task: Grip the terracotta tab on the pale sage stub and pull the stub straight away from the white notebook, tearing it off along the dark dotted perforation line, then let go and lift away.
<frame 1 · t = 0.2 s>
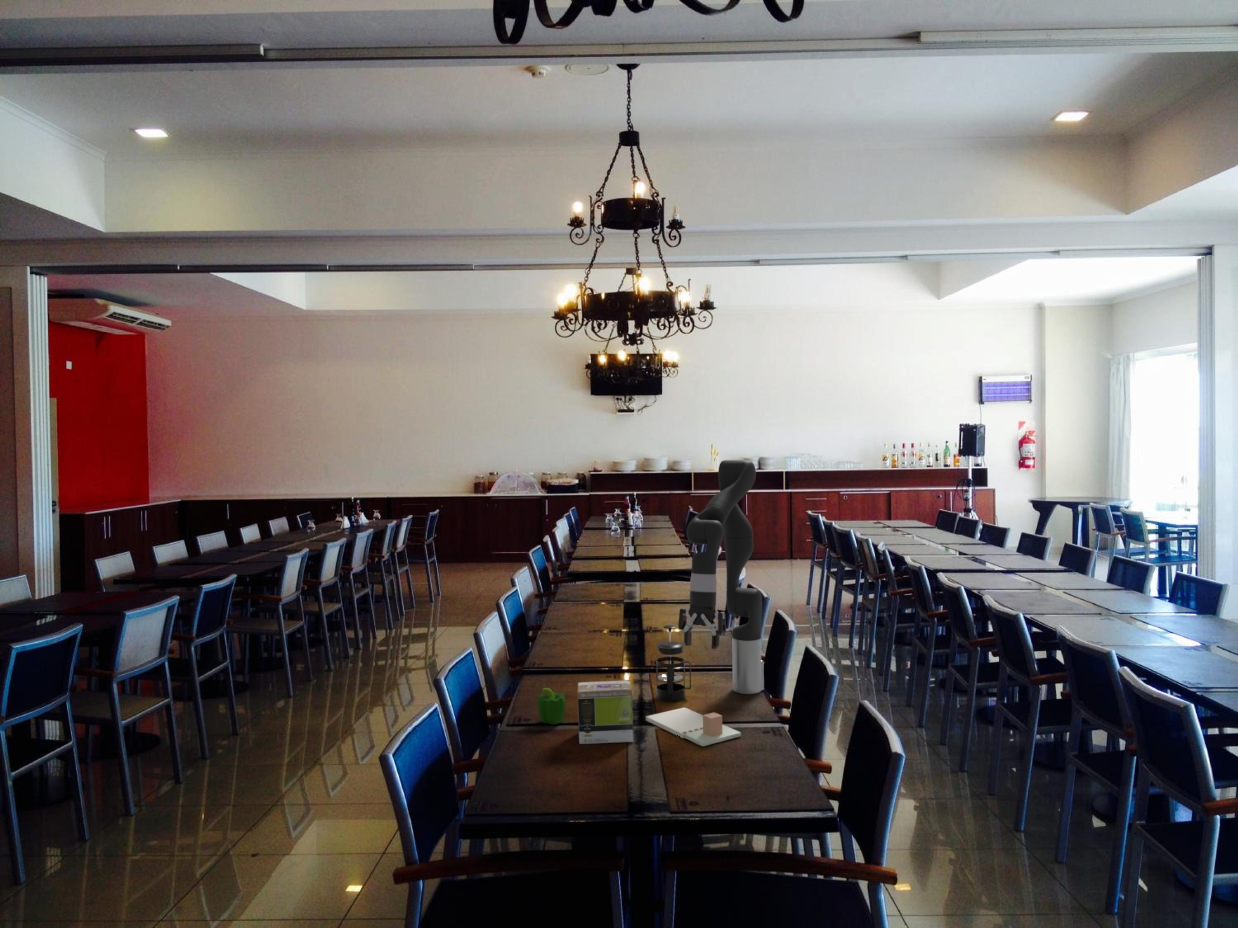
hand: (701, 647, 246), 23 cm above the table, tool pointing down, fingers open, 8 cm apart
bell pepper: (552, 722, 254), on the table
tea box: (605, 738, 240), on the table
stub: (712, 726, 238), point 3 cm above the table, slide at 0.0 cm
french press: (672, 698, 275), on the table
white notebook: (683, 724, 250), on the table
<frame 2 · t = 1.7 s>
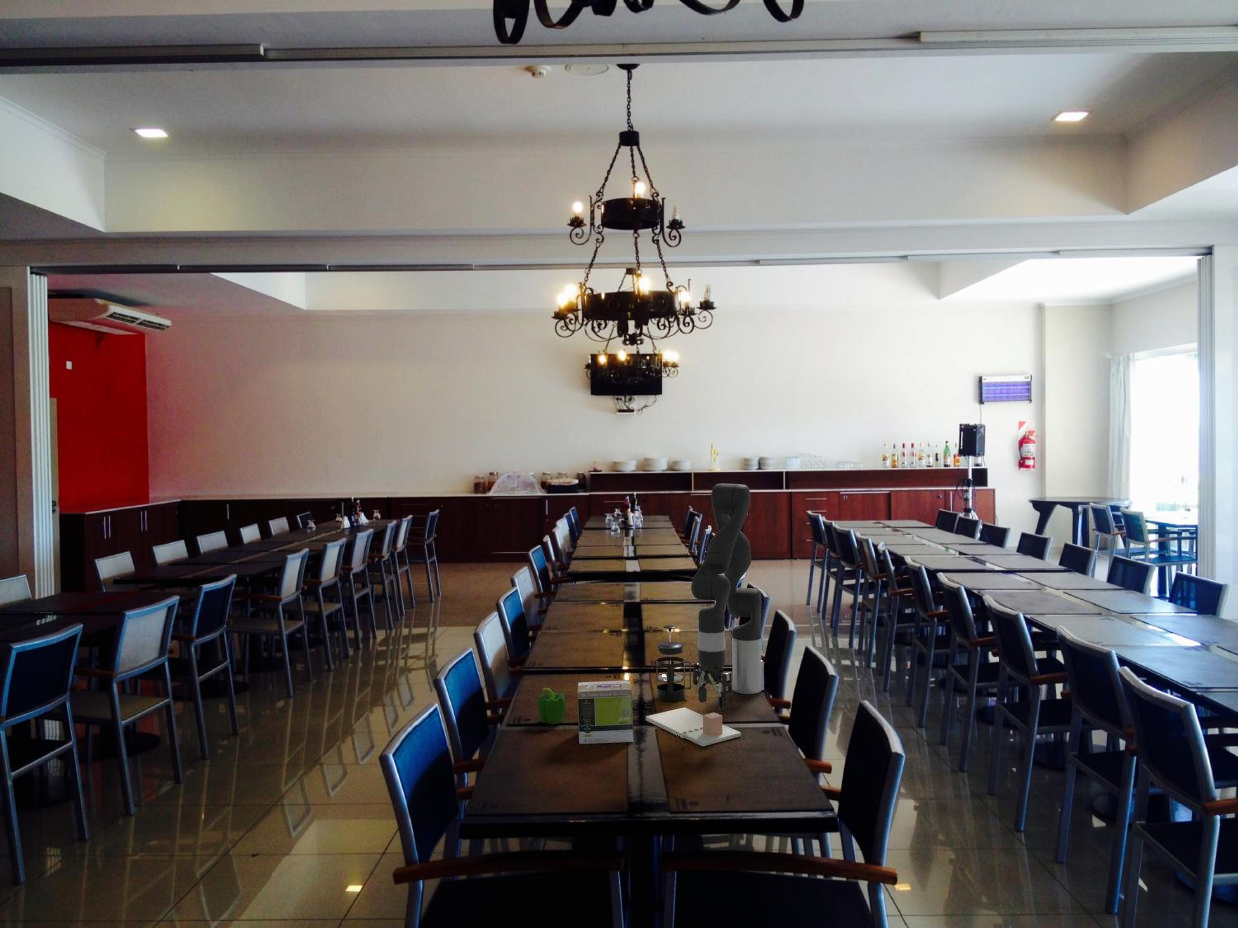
hand: (712, 705, 238), 9 cm above the table, tool pointing down, fingers open, 8 cm apart
nothing on the table moved.
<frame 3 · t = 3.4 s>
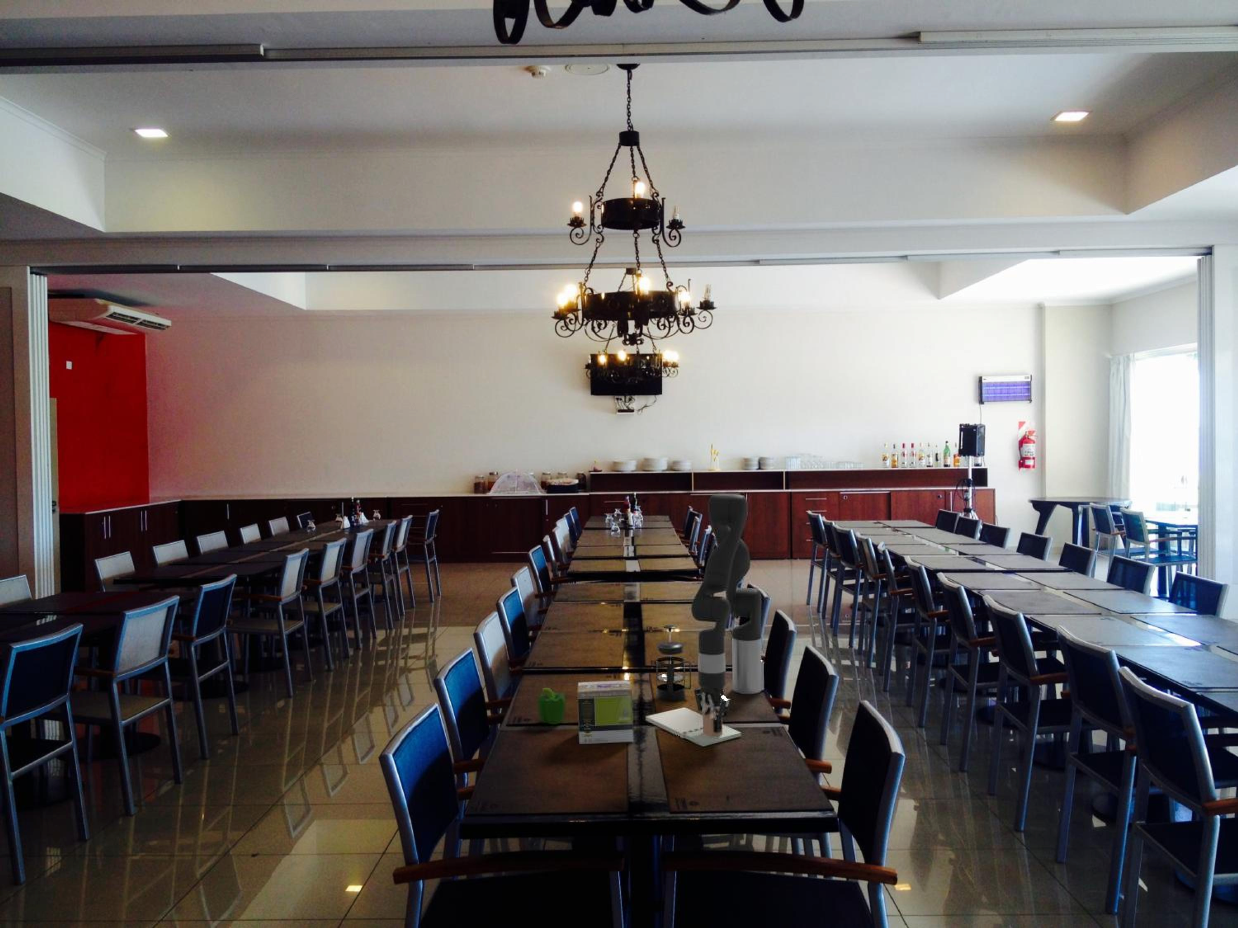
hand: (712, 729, 238), 2 cm above the table, tool pointing down, fingers closed on stub, 3 cm apart
stub: (712, 726, 238), point 3 cm above the table, slide at 0.0 cm, touching gripper
everything else where it was.
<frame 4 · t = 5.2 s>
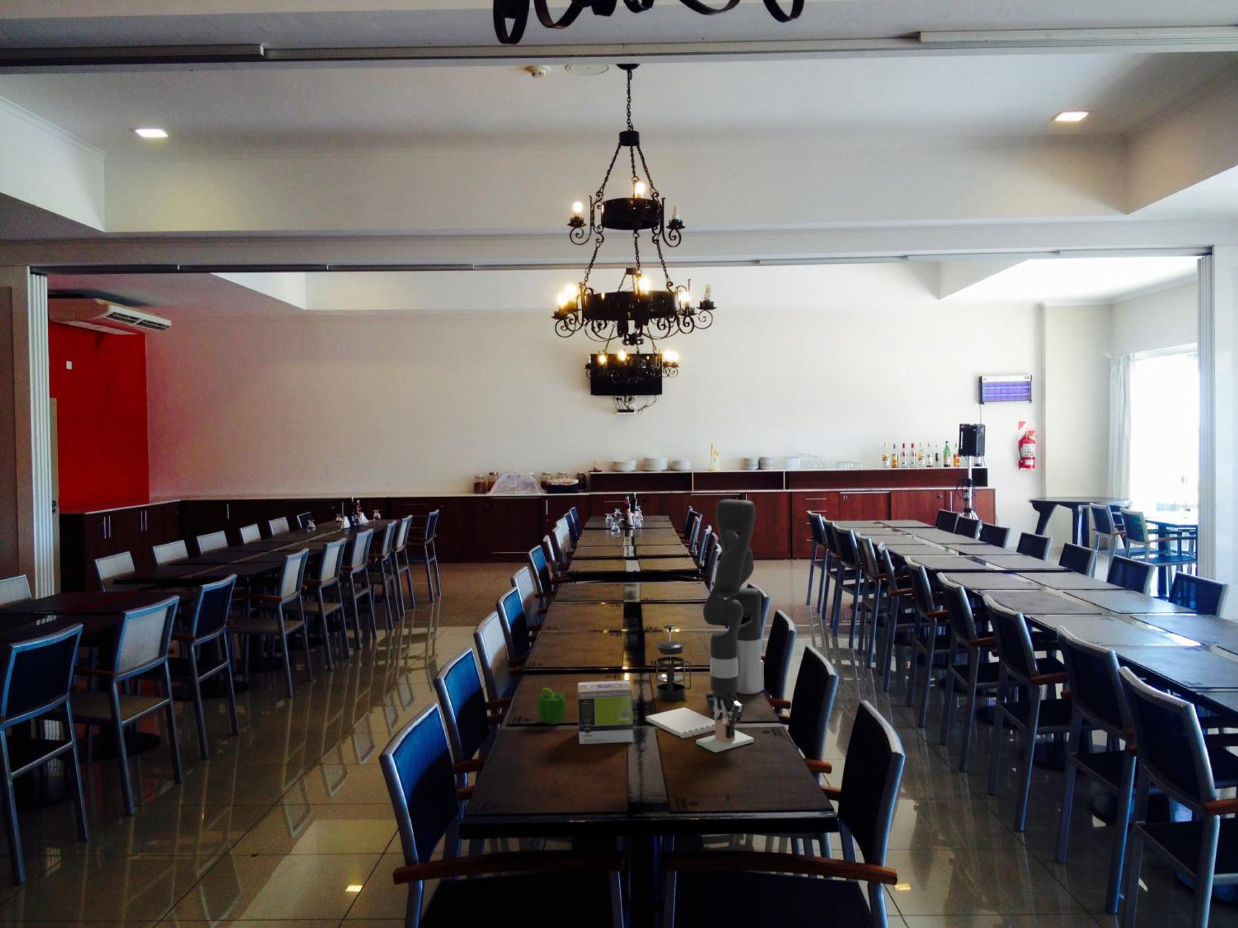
hand: (725, 735, 234), 2 cm above the table, tool pointing down, fingers closed on stub, 3 cm apart
stub: (724, 731, 234), point 3 cm above the table, slide at 5.3 cm, touching gripper
everything else where it was.
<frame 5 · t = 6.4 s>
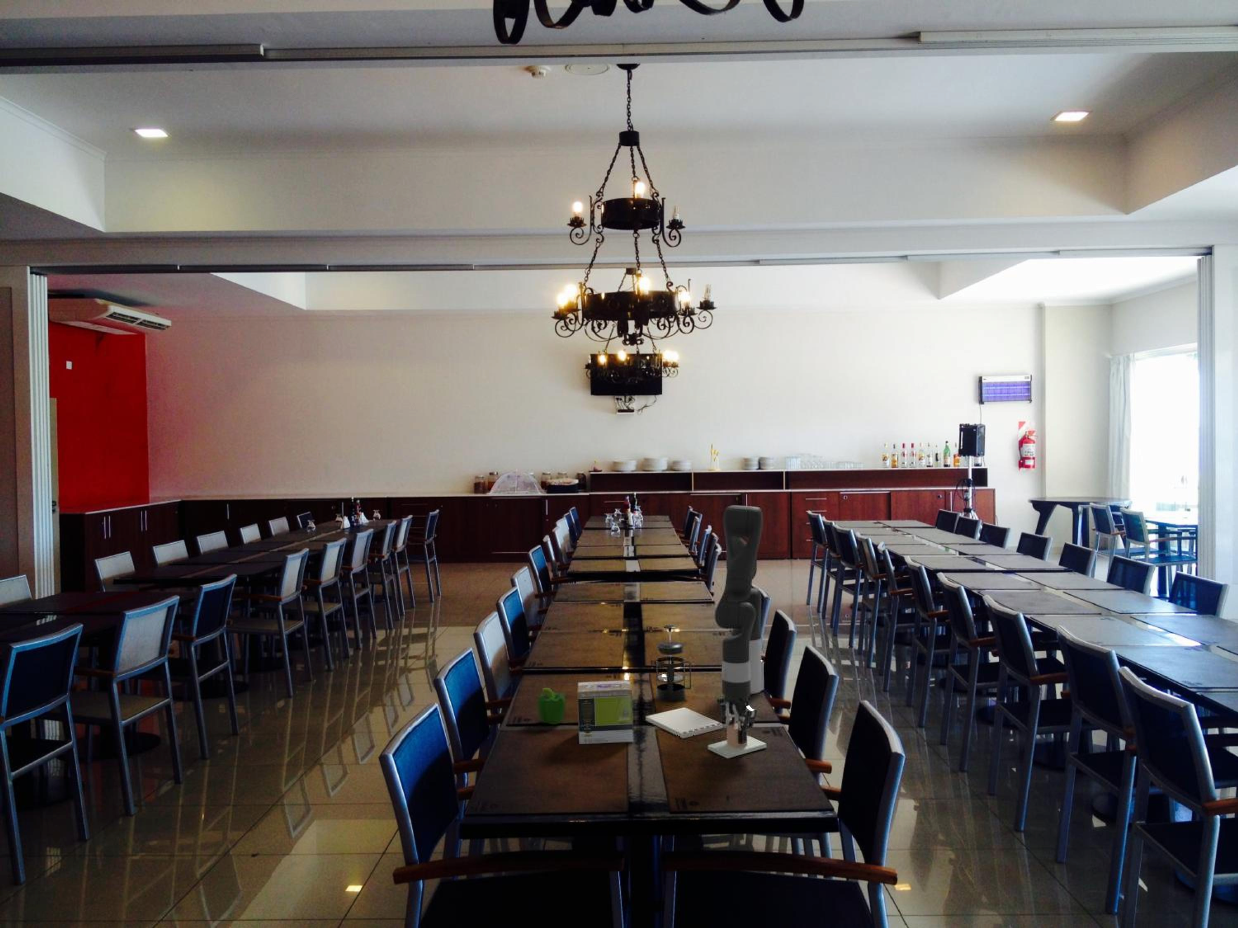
hand: (737, 740, 230), 2 cm above the table, tool pointing down, fingers closed on stub, 3 cm apart
stub: (736, 736, 230), point 3 cm above the table, slide at 10.3 cm, touching gripper
everything else where it was.
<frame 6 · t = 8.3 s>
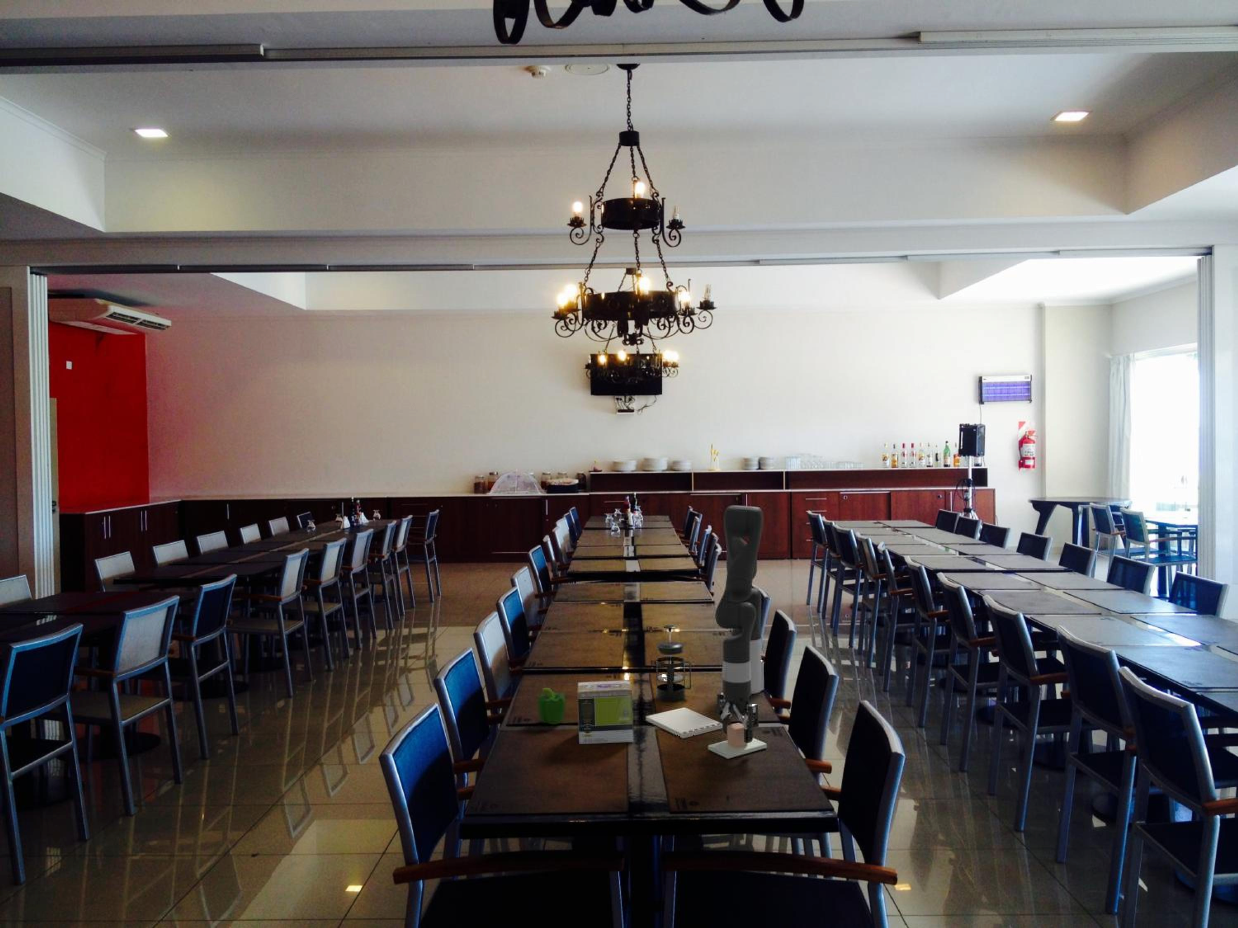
hand: (737, 737, 229), 3 cm above the table, tool pointing down, fingers open, 8 cm apart
stub: (737, 737, 229), point 3 cm above the table, slide at 10.5 cm
everything else where it was.
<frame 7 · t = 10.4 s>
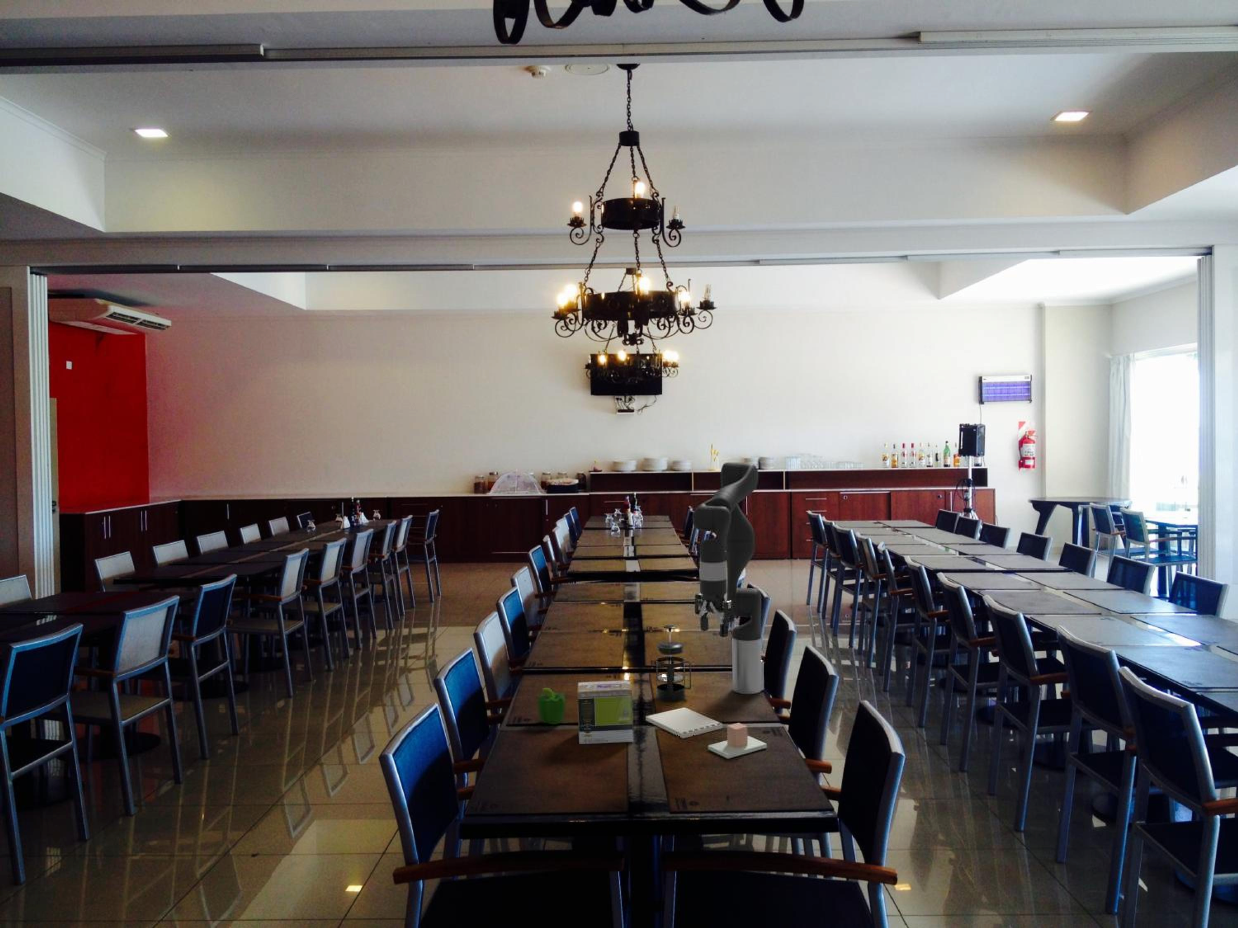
hand: (714, 633, 244), 27 cm above the table, tool pointing down, fingers open, 8 cm apart
nothing on the table moved.
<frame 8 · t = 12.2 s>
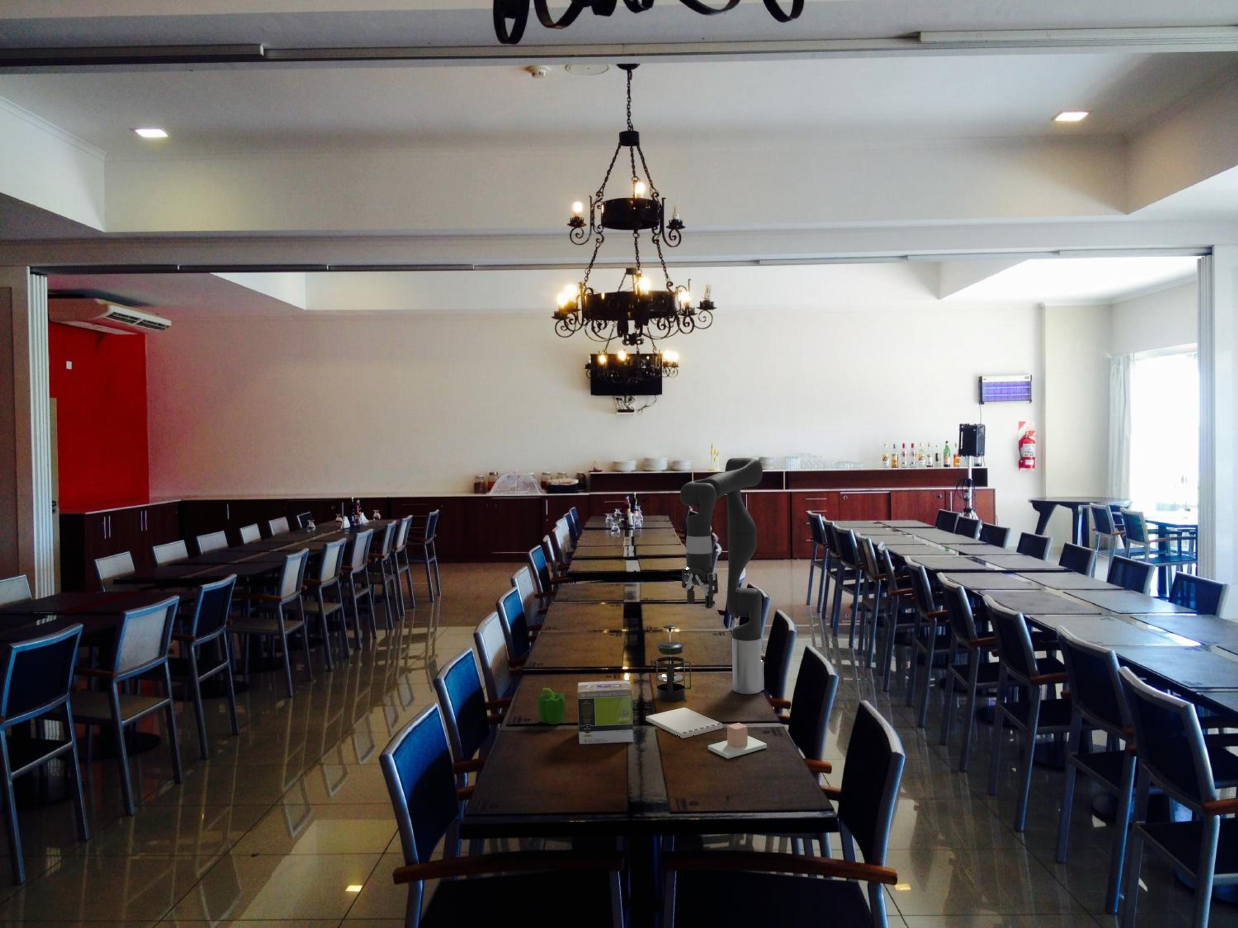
hand: (699, 605, 254), 33 cm above the table, tool pointing down, fingers open, 8 cm apart
nothing on the table moved.
at the end: stub slide at 10.5 cm; the gripper is holding nothing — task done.
